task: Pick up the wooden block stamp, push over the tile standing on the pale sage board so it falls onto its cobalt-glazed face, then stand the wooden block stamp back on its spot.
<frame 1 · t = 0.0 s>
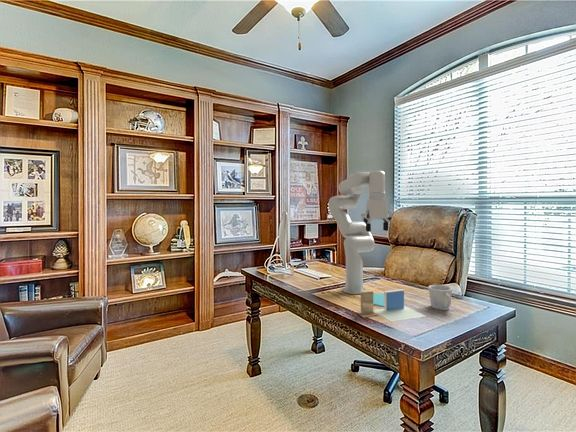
hand: (377, 231, 160), 37 cm above the table, tool pointing down, fingers open, 9 cm apart
wooden block stamp: (367, 315, 147), on the table
plaque: (381, 302, 166), on the table
mug: (442, 310, 153), on the table
board: (398, 314, 147), on the table
tile: (394, 309, 152), point 1 cm above the table, touching board
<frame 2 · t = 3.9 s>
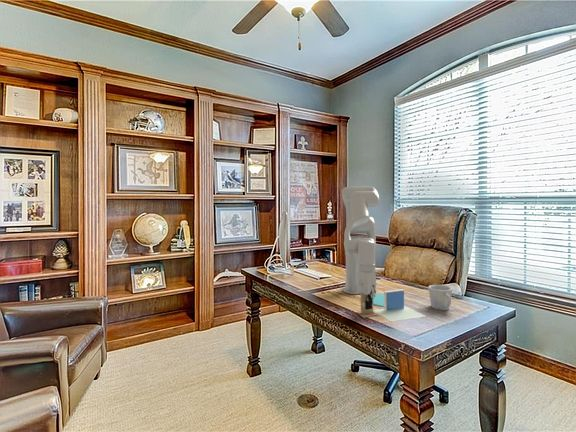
hand: (367, 307, 147), 4 cm above the table, tool pointing down, fingers closed on wooden block stamp, 2 cm apart
wooden block stamp: (367, 315, 147), on the table, touching gripper
everything else where it was.
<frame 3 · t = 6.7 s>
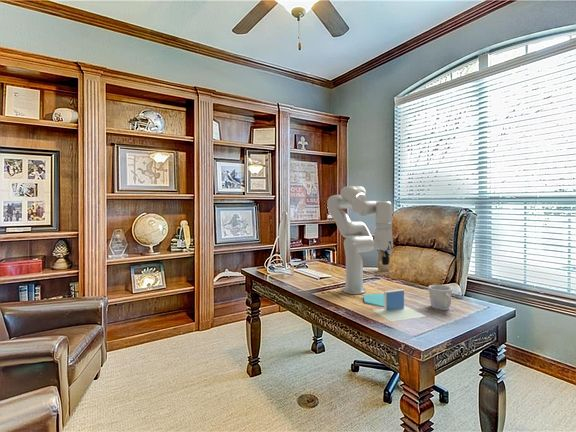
hand: (383, 263, 159), 21 cm above the table, tool pointing down, fingers closed on wooden block stamp
wooden block stamp: (383, 273, 159), point 16 cm above the table, touching gripper
everything else where it was.
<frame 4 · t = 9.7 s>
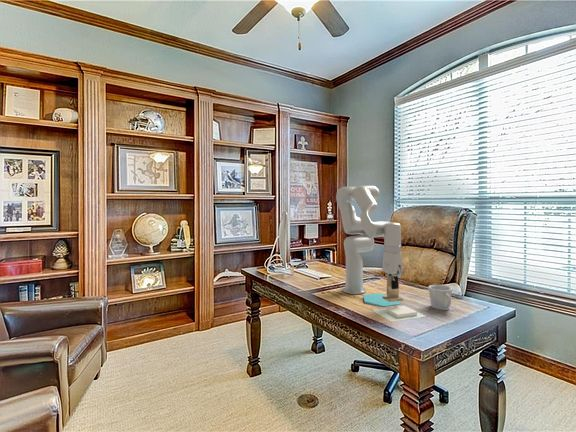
hand: (392, 287, 153), 11 cm above the table, tool pointing down, fingers closed on wooden block stamp
wooden block stamp: (392, 299, 153), point 5 cm above the table, touching gripper
tile: (395, 308, 151), point 1 cm above the table, tilted 90°, touching board
everything else where it was.
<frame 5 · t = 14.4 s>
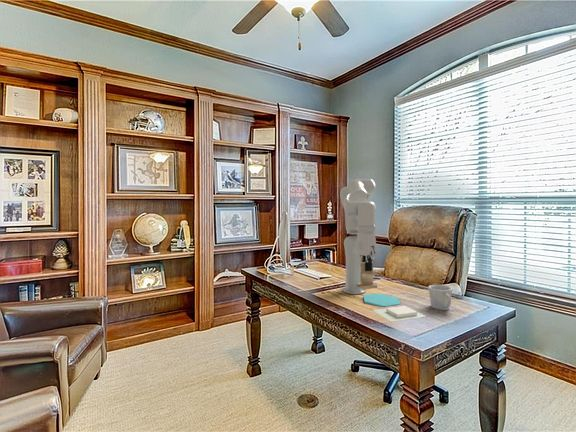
hand: (366, 269, 146), 21 cm above the table, tool pointing down, fingers closed on wooden block stamp
wooden block stamp: (366, 287, 146), point 13 cm above the table, touching gripper
everything else where it was.
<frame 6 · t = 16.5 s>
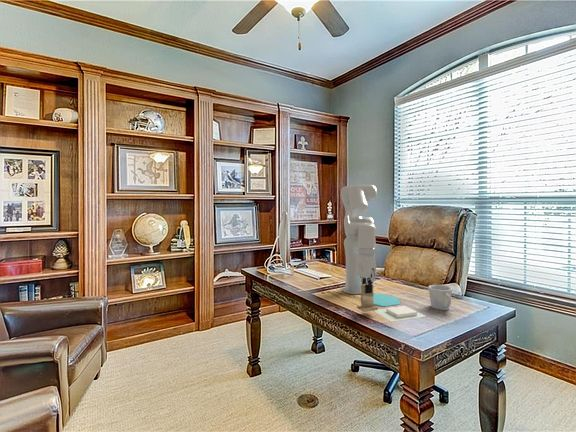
hand: (366, 291, 146), 11 cm above the table, tool pointing down, fingers closed on wooden block stamp
wooden block stamp: (367, 308, 146), point 3 cm above the table, touching gripper
everything else where it was.
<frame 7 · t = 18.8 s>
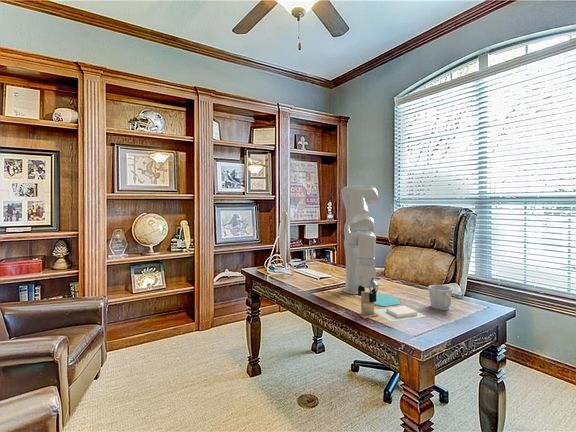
hand: (366, 298, 146), 8 cm above the table, tool pointing down, fingers open, 9 cm apart
wooden block stamp: (367, 316, 146), on the table
everything else where it was.
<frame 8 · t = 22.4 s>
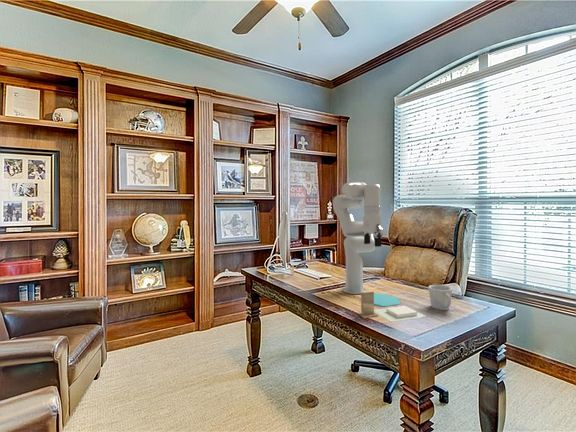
hand: (372, 245, 157), 30 cm above the table, tool pointing down, fingers open, 9 cm apart
nothing on the table moved.
at the end: tile tilted 90°; tile inside the target area (3.2 cm from its centre), point 1.4 cm above the table; wooden block stamp inside the target area (0.7 cm from its centre), on the table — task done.
